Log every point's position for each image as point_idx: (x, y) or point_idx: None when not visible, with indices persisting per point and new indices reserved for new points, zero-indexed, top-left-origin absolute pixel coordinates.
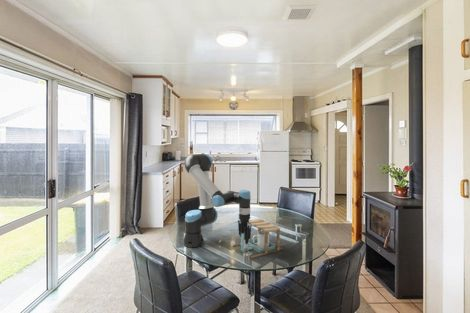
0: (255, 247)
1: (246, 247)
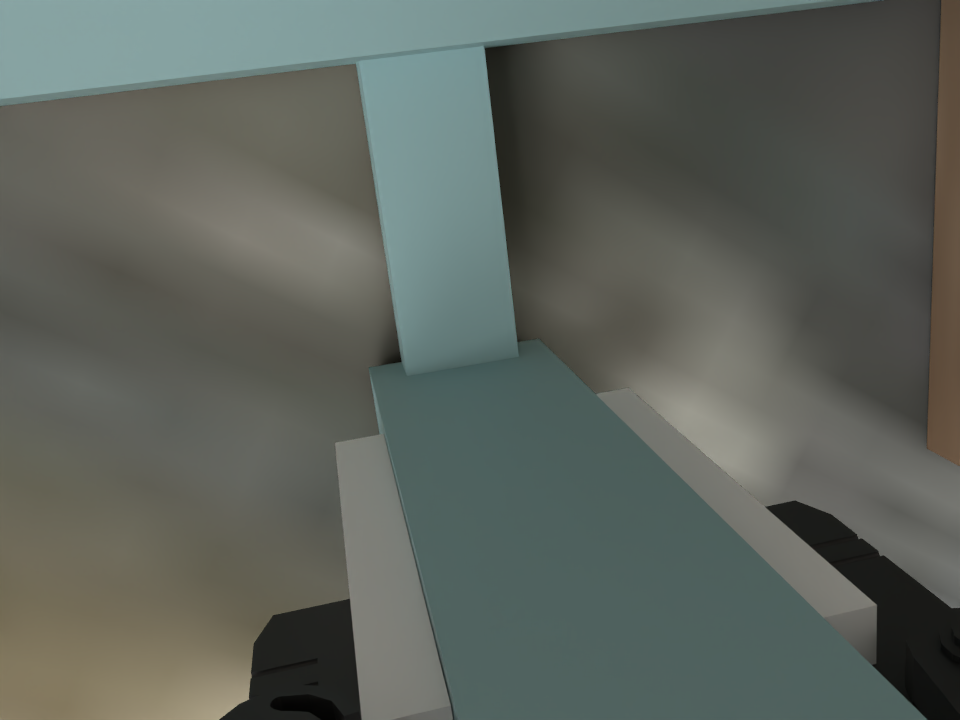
0: (672, 19)
1: None
